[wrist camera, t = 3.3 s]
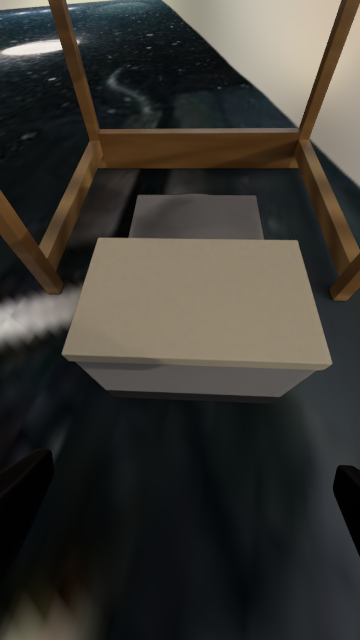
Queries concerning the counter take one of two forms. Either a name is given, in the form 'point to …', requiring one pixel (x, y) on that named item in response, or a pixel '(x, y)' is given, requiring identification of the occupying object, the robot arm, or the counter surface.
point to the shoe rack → (191, 163)
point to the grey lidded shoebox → (197, 306)
